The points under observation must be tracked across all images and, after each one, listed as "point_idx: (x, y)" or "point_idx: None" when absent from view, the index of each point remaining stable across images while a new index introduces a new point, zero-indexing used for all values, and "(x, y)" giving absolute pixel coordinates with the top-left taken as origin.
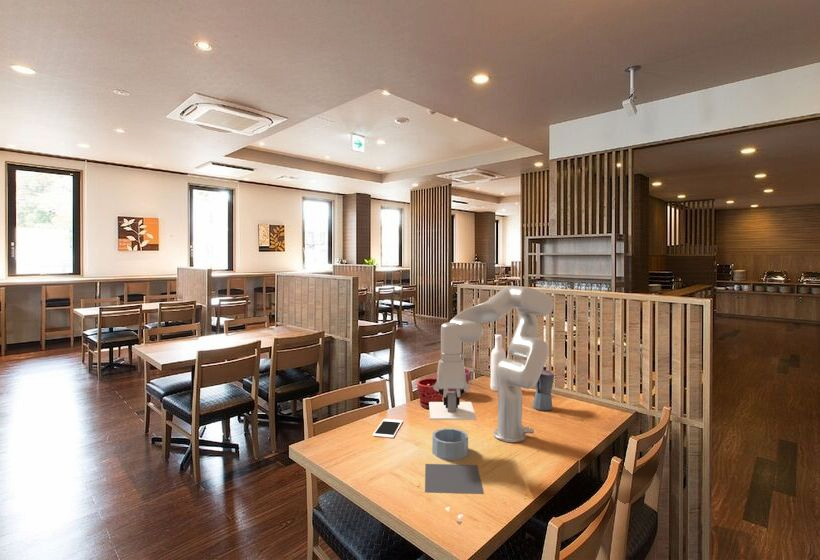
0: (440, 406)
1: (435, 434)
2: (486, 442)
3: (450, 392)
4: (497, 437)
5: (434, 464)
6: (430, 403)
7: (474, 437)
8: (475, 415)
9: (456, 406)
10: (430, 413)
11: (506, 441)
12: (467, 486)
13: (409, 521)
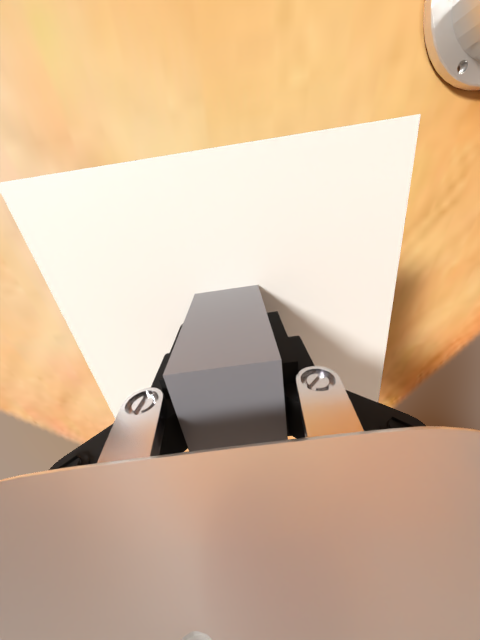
0: (141, 286)
1: None
2: (367, 105)
3: (220, 409)
4: (432, 50)
5: None
6: (30, 226)
7: (323, 46)
8: (378, 396)
9: None
10: (113, 405)
11: (456, 87)
12: None
13: None
